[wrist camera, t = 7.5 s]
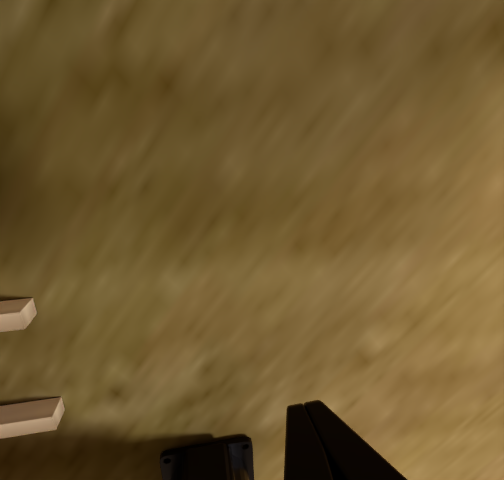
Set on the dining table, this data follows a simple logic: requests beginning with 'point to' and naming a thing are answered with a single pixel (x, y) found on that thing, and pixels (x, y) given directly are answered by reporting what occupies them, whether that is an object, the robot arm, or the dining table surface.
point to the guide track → (35, 412)
